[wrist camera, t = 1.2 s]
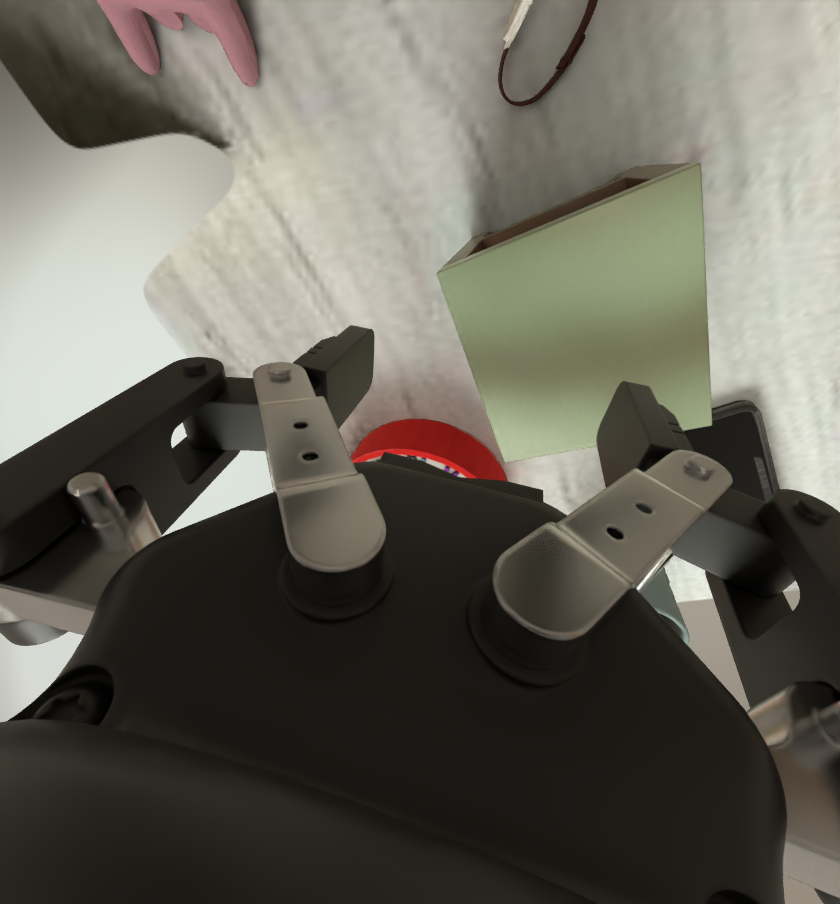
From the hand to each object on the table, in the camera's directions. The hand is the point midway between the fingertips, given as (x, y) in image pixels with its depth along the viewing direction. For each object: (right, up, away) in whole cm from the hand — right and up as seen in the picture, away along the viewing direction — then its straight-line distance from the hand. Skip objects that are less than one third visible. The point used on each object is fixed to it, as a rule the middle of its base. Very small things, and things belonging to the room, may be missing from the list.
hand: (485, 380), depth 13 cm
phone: (+27, -4, +25) cm, 37 cm away
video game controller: (-18, +28, +15) cm, 37 cm away
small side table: (+10, +11, +19) cm, 24 cm away
